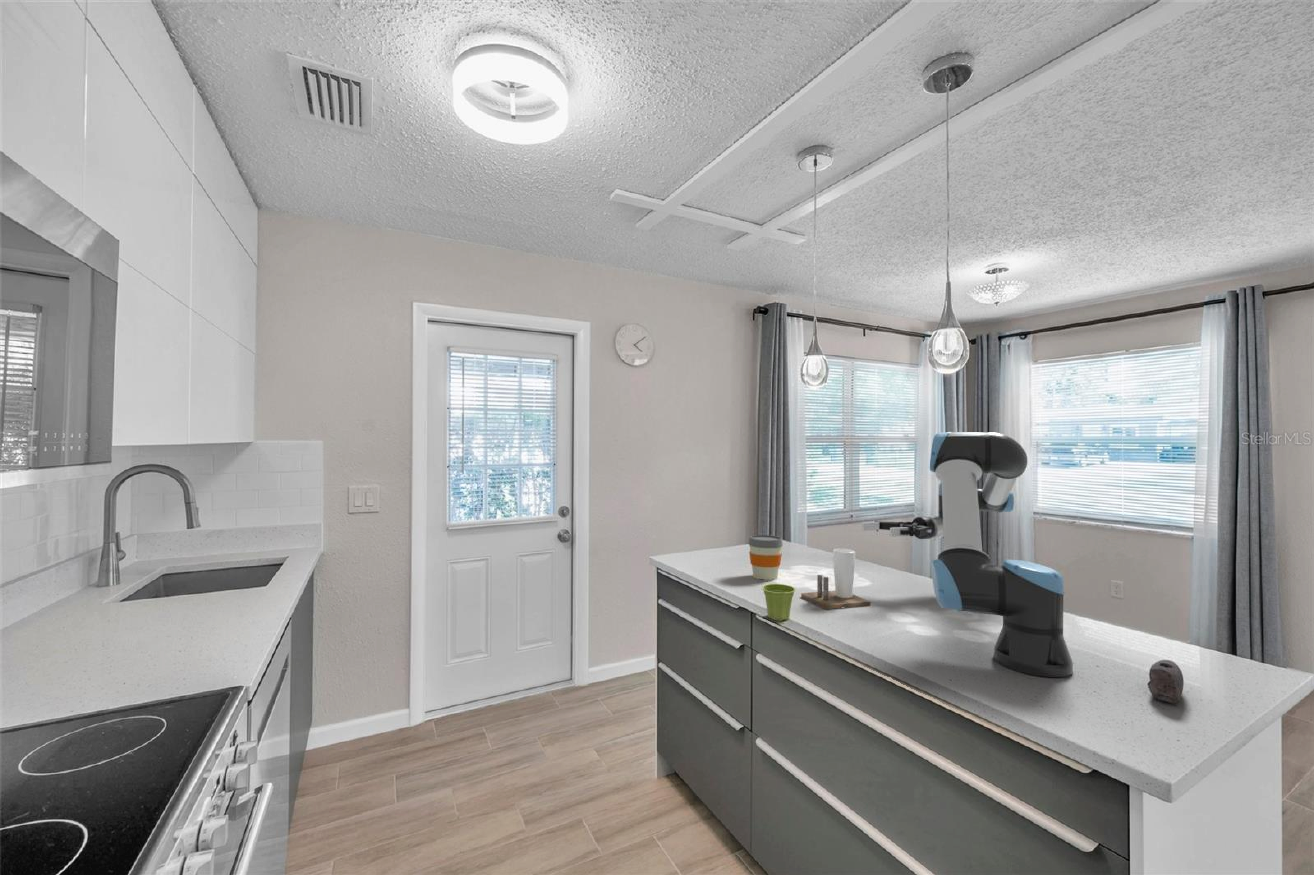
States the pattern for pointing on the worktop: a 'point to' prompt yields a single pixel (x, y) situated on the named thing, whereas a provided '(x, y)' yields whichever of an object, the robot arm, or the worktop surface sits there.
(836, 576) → the white tall cylinder
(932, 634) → the worktop surface
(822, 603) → the board
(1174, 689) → the perforated stone tool
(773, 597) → the plant pot
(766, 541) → the reusable coffee cup
